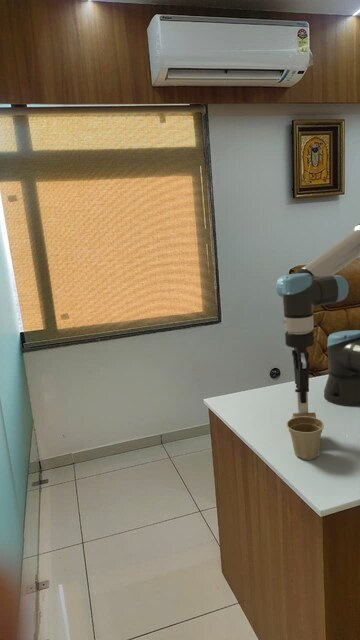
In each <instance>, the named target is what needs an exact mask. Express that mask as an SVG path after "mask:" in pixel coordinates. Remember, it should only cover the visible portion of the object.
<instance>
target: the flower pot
mask: <svg viewBox="0 0 360 640" xmlns="http://www.w3.org/2000/svg"><path fill="white" fill-rule="evenodd" d="M286 427H287V429H288V431H289V433H290V437H291V442H292V446H293V451H294V454H295V455H294V456H296V457H297V458H301V459H302V460H308V461H309V460H311V461H312V460H314V459H316V458H317V457H319V456H320V448H321V447H320V446H321V439H322V438H321V437H322V433H323V429H324V427H325V424H324V422H323V421H322V420H321V419H319V418H317V417H316V418H314V417H308V416H301V417H295V418H292V417H291V418H290V419H288V421H286Z"/></svg>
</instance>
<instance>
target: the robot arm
mask: <svg viewBox="0 0 360 640" xmlns="http://www.w3.org/2000/svg"><path fill="white" fill-rule="evenodd" d="M359 257H360V223H359V224H358V225H355V226H354V227H353V228H352V229H351V232H350V234H348V235H347V236H345V237H344V238H343V239H341V240H340V241H338V242H337V243H336V244H334V245H332V246H331V247H330V248H328V249H327V250H326V251H324V252H322V253H321V254H319V255H318V256H317V257H316V258H314V259H312V260H311V261H309V262H308V263H307V264H306V265H305V266H303V267H300V269H298V270H297V271H295V272H294V273H291V274H290V273H289V274H283V275H280V277H278V279H277V281H276V284H275V291H276V293H277V295H278V296H279V297H280V298H282V303H283V316H284V319H283V320H282V324H283V325H284V329H285V332H284V336H285V337H284V338H285V345H286V346H287V347H288V348H292V350H291V355H292V361H293V362H292V364H293V369H294V383H295V390H294V392H295V393H296V404H297V405H296V406H297V413H309V398H308V397H309V396H308V395H309V394H308V393H309V391H310V388H309V387H310V385H309V384H310V380H309V379H310V372H309V371H310V361H309V358H310V353H309V352H308V350H307V348H310V347H312V346H314V345H315V336H314V335H315V332H314V331H313V330H314V329H315V327H314V326H315V325H314V324H315V323H314V307H318V306H323V305H329V304H336V303H338V302H342V301H344V300H345V299H346V298H347V296H348V294H349V283H348V281H347V280H346V278H345V277H344V276H342V275H339V274H337V273H338V272H339V271H341V270H342V269H344V268H346V266H348V265H349V264H351V263H352V262H353V261H355V260H356V259H358V258H359ZM335 274H336V275H335ZM326 347H327V363H328V364H327V366H328V377H327V379H326V383H325V386H324V389H323V393H324V394H323V396H324V399H325V400H326V401H328V402H329V403H333V404H336V405H340V406H360V330H358V329H356V330H355V329H354V330H353V329H352V330H343V331H337V332H333V333H330V334H329V336H328V337H327V346H326Z"/></svg>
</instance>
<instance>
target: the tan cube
mask: <svg viewBox="0 0 360 640" xmlns="http://www.w3.org/2000/svg"><path fill="white" fill-rule="evenodd" d="M301 416H308V417H314V418H317V417H316V416H317V415H316V412H308V413H298V412H295V413H292V415H291V419H292V418H295V417H301Z"/></svg>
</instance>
